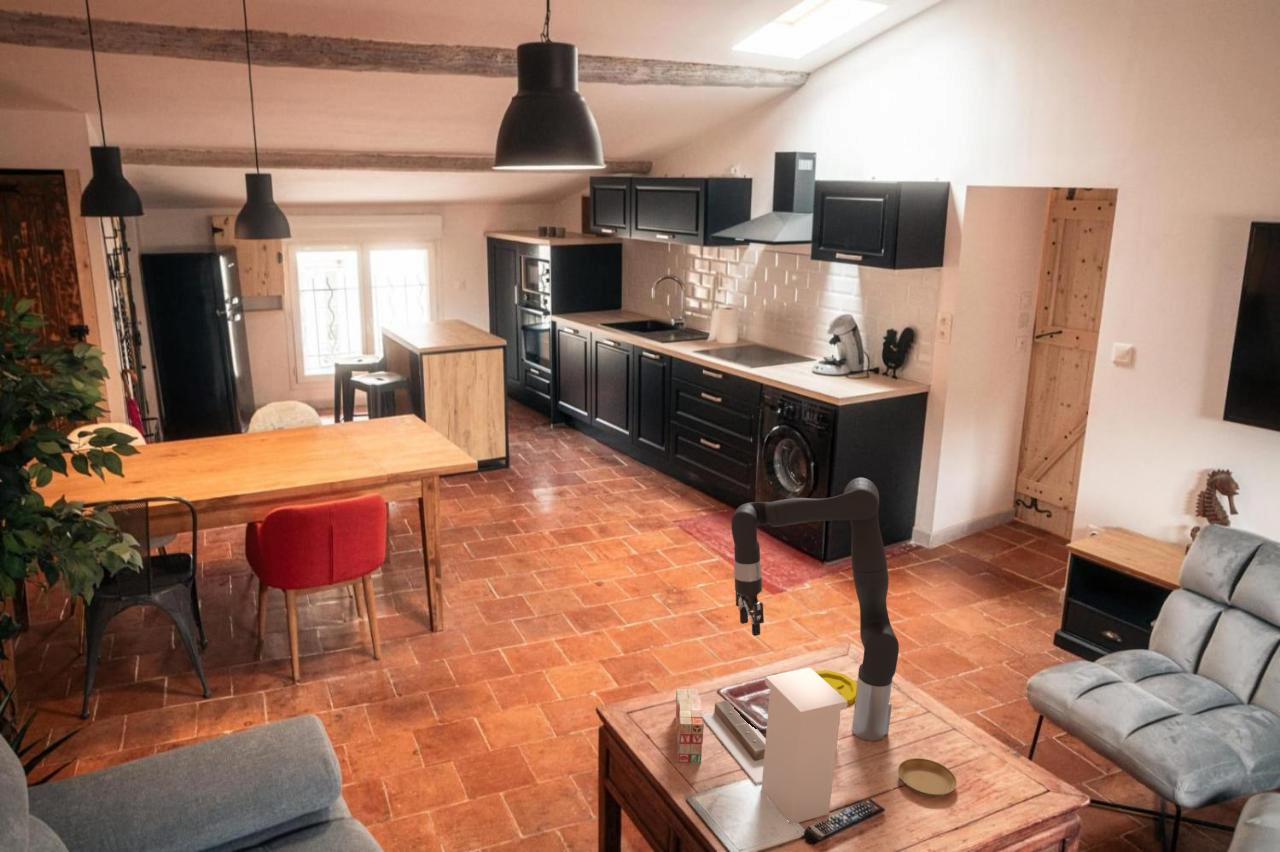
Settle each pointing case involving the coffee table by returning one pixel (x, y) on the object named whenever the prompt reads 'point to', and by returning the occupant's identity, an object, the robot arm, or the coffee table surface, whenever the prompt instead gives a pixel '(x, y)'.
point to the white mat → (736, 746)
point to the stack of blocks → (689, 726)
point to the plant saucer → (927, 777)
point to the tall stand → (801, 743)
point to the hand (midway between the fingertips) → (750, 628)
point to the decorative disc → (840, 684)
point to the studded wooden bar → (740, 730)
